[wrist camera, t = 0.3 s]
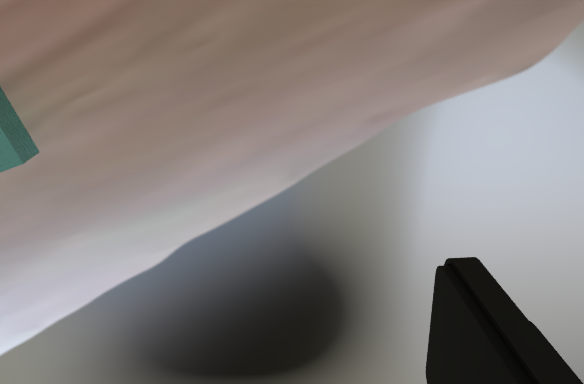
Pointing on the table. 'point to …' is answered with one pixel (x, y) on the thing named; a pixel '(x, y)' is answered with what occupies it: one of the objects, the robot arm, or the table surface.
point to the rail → (13, 137)
